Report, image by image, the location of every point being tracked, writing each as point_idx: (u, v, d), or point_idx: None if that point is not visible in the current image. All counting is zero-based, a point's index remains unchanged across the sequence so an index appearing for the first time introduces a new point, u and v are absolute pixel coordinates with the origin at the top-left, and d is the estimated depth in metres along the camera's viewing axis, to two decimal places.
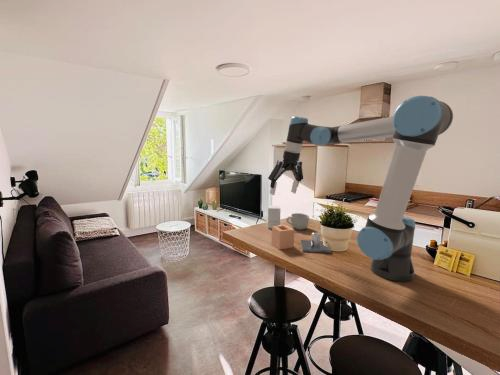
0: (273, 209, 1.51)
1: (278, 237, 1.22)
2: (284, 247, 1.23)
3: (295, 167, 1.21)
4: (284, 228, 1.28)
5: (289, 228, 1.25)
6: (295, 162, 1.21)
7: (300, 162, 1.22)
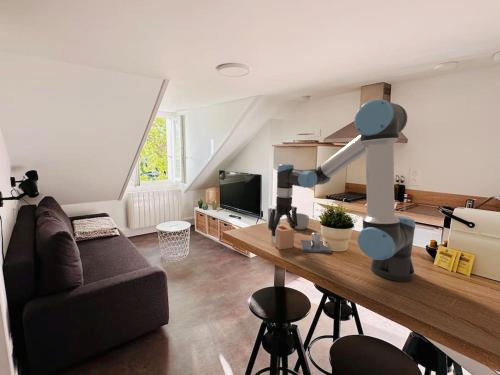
0: None
1: (278, 237, 1.22)
2: (284, 247, 1.23)
3: (289, 212, 1.24)
4: (284, 228, 1.28)
5: (289, 228, 1.25)
6: (289, 206, 1.24)
7: (295, 207, 1.25)
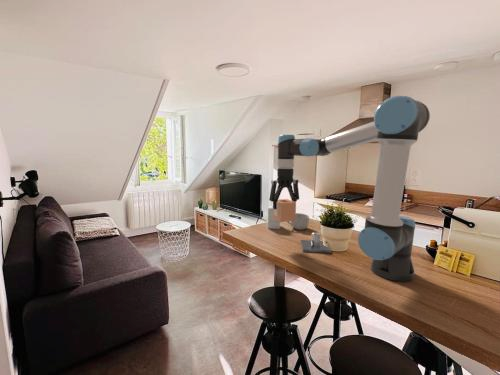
0: None
1: (279, 210, 1.20)
2: (286, 220, 1.21)
3: (290, 184, 1.22)
4: (285, 202, 1.26)
5: (291, 201, 1.23)
6: (291, 178, 1.22)
7: (296, 180, 1.23)
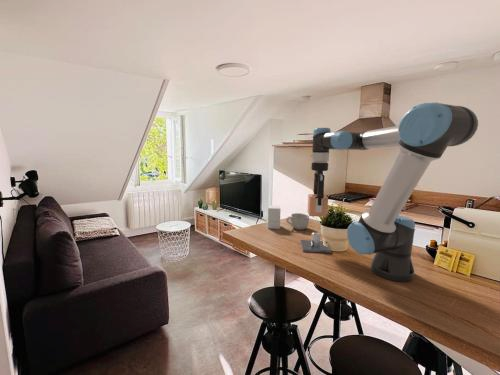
0: (273, 209, 1.51)
1: (325, 204, 1.17)
2: None
3: None
4: None
5: None
6: None
7: None
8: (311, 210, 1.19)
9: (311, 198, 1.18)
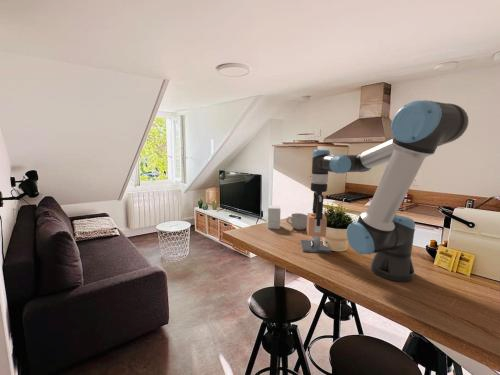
0: (273, 209, 1.51)
1: (323, 225, 1.19)
2: None
3: None
4: (313, 216, 1.25)
5: None
6: None
7: None
8: (310, 230, 1.20)
9: (310, 218, 1.19)
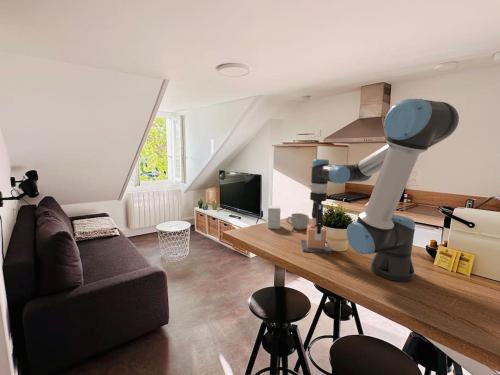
0: (273, 209, 1.51)
1: (323, 237, 1.20)
2: None
3: None
4: (312, 228, 1.26)
5: None
6: None
7: None
8: (309, 242, 1.21)
9: (309, 231, 1.20)
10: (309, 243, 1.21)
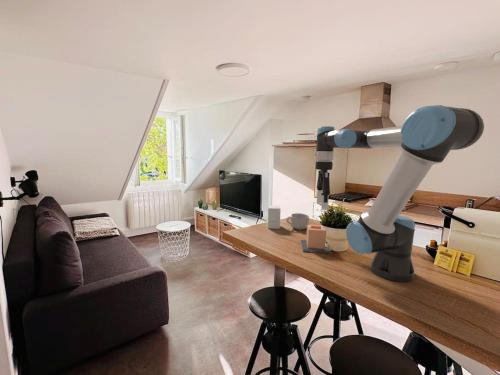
0: (273, 209, 1.51)
1: (323, 237, 1.20)
2: None
3: None
4: (312, 228, 1.26)
5: (319, 226, 1.26)
6: None
7: None
8: (309, 242, 1.21)
9: (309, 231, 1.20)
10: (309, 243, 1.21)
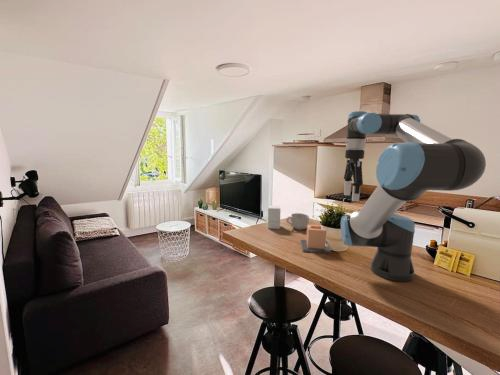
0: (273, 209, 1.51)
1: (323, 237, 1.20)
2: None
3: None
4: (312, 228, 1.26)
5: (319, 226, 1.26)
6: None
7: None
8: (309, 242, 1.21)
9: (309, 231, 1.20)
10: (309, 243, 1.21)
